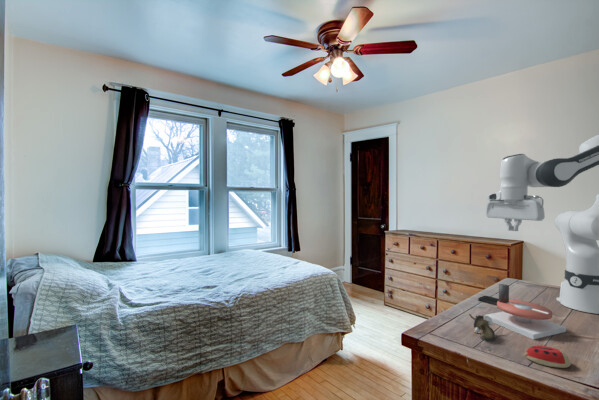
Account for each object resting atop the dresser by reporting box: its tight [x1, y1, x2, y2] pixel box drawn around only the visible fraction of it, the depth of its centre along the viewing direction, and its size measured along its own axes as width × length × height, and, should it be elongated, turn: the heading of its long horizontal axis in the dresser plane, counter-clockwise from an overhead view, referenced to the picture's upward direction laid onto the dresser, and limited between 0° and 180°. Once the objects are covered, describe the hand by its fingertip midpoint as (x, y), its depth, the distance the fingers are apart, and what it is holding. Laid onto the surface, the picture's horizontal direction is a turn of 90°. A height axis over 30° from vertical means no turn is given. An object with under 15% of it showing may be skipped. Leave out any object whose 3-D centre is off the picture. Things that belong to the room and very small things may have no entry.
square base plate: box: [484, 311, 567, 340], centre depth 99 cm, size 16×16×4 cm
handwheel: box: [496, 283, 553, 320], centre depth 99 cm, size 15×15×7 cm
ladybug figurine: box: [524, 345, 572, 369], centre depth 77 cm, size 7×10×4 cm
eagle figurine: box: [468, 313, 496, 342], centre depth 92 cm, size 8×7×9 cm
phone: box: [477, 295, 499, 307], centre depth 119 cm, size 8×1×15 cm
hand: (512, 230), depth 113 cm, fingers closed
